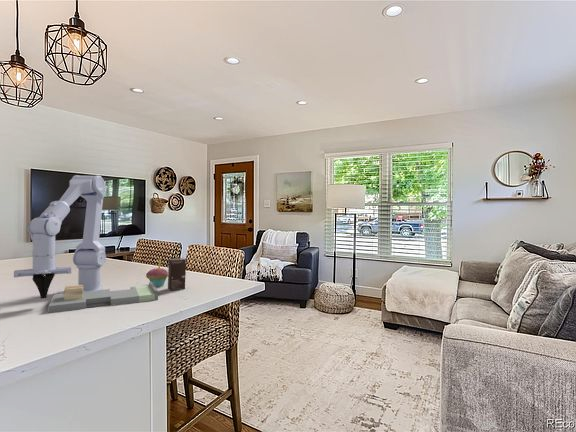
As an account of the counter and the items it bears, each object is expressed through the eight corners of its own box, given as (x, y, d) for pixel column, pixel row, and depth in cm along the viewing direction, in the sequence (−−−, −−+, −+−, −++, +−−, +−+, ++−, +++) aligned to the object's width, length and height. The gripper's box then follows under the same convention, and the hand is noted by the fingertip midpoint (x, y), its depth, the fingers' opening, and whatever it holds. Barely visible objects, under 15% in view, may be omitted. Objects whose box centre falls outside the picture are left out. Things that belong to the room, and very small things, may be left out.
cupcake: (172, 285, 134) (172, 256, 134) (154, 289, 127) (154, 259, 127) (159, 282, 139) (160, 254, 138) (141, 286, 131) (141, 257, 131)
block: (65, 296, 107) (65, 286, 107) (83, 294, 109) (83, 284, 109) (64, 300, 103) (64, 289, 102) (82, 298, 105) (82, 287, 105)
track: (54, 300, 109) (54, 290, 109) (151, 290, 125) (151, 281, 125) (48, 312, 96) (48, 302, 96) (157, 299, 112) (158, 290, 112)
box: (170, 290, 125) (170, 260, 124) (167, 288, 128) (168, 258, 128) (186, 289, 128) (186, 259, 128) (182, 286, 132) (183, 257, 131)
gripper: (11, 258, 95) (11, 303, 95) (70, 255, 102) (70, 297, 102) (16, 255, 101) (16, 298, 101) (72, 252, 108) (71, 292, 108)
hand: (43, 297), depth 102 cm, fingers closed
